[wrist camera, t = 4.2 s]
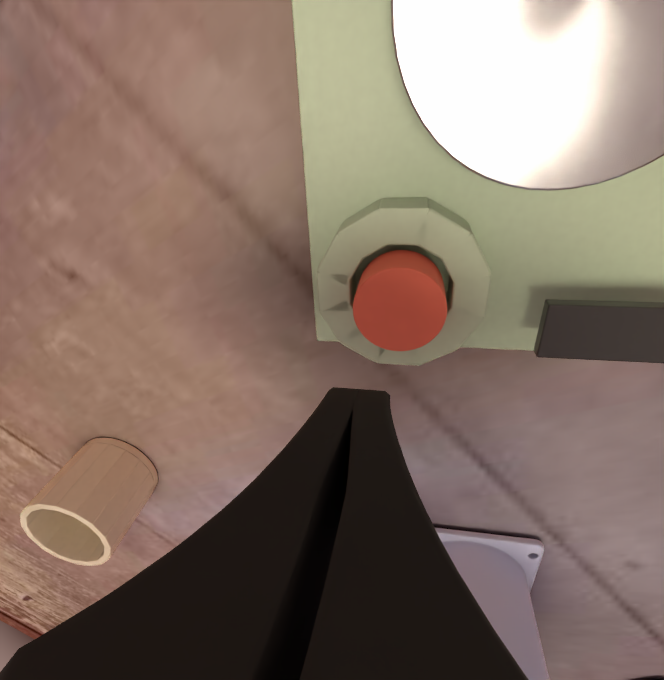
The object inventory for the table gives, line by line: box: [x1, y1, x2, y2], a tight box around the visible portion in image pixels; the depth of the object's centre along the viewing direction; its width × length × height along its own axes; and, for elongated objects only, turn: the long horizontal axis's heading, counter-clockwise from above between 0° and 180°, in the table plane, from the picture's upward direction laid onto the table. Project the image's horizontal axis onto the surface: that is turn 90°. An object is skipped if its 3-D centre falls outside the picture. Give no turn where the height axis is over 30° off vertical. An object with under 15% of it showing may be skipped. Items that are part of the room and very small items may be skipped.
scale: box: [292, 0, 664, 366], centre depth 13 cm, size 16×13×3 cm
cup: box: [20, 438, 158, 566], centre depth 25 cm, size 5×5×5 cm
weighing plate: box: [391, 0, 664, 363], centre depth 11 cm, size 14×10×1 cm
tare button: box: [353, 250, 447, 351], centre depth 14 cm, size 3×3×2 cm
